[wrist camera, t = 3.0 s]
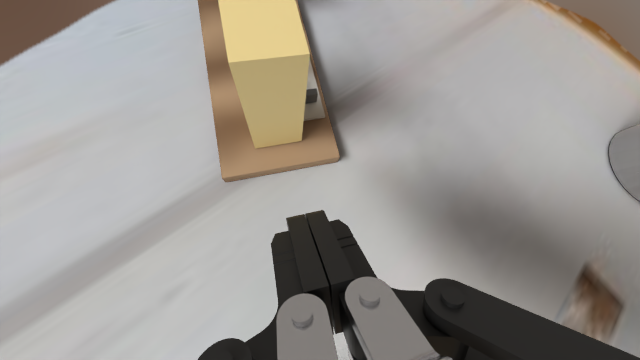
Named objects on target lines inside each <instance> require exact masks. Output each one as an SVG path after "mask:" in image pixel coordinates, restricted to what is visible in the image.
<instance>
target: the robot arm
mask: <svg viewBox="0 0 640 360" xmlns="http://www.w3.org/2000/svg"><path fill="white" fill-rule="evenodd" d="M609 158H610V163H611V166H612V168H613V171H614V173H615V175H616V177H617V178H618V180H619V181H620V183H621V184H622V185H623V187H624V188H625V189H626V190H627V191H628V192H629V193H630V194H631V195H632V196H633V197H635V198H636V199H637V200H639V201H640V124H638V125H635V126H633V127H630V128H628V129H625V130H623V131H620V132H619V133H617V134H616V135H615V136H614V137H613V139H612V140H611V143H610V146H609ZM286 220H287V226H288V231H286V232H281V233H277V234H275V236H274V238H273V241H272V243H271V248H272V255H273V264H274V272H275V280H276V288H277V296H278V309H277V313H276V315H275V317H274V319H273V320H272V322H271V323H270V324H269V326H268V327H266V328H265V329H264V330H263V331H262V332H260V333H259V334H257V335H256V336H254V337H253V338H251V339H249V340H248V341H246V342H243V341H241V340H239V339H235V338H229V339H224V340H221V341H218V342H217V343H215V344H213V345H212V346H210V347H209V348H208V349H207V350H206V351H204V352H203V354H202V355H201V356H200V357H199V358H198V360H338V356H337V352H336V347H335V343H334V338H333V335H334V333H333V327H334V330H335V334H337V333H341V332H343V333H344V336H345V339H346V341H347V344H348V355H349V359H350V360H640V358H638V357H636V356H634V355H631V354H629V353H627V352H624V351H622V350H619V349H617V348H615V347H612V346H610V345H608V344H605V343H603V342H600V341H598V340H596V339H593V338H591V337H589V336H586V335H584V334H581V333H579V332H577V331H574V330H572V329H570V328H567V327H565V326H562V325H560V324H558V323H555V322H553V321H551V320H548V319H546V318H543V317H541V316H539V315H536V314H534V313H531V312H529V311H527V310H524V309H522V308H520V307H517V306H515V305H512V304H510V303H508V302H505V301H503V300H501V299H498V298H496V297H493V296H491V295H489V294H486V293H484V292H482V291H479V290H477V289H474V288H472V287H470V286H467V285H465V284H463V283H460V282H458V281H455V280H451V279H445V278H444V279H436V280H433V281H431V282H430V283H429V284H428V285H427V286H426V288H425V291H406V290H398V289H394V288H391V287H389V285H387V284H386V283H385V282H384V281H382V280H380V279H378V278H377V277H376V275H375V274H374V272H373V270H372V268H371V266H370V265H369V263H368V261H367V259H366V257H365V256H364V254H363V252H362V250H361V249H360V247H359V245H358V244H357V241H356V240H355V238H354V237H353V234H352V233H351V231H350V229H349V227H348V226H347V225H346V224H344V223H343V222H341V221H340V220H339V219H338V220H334V221H330V222H329V221H328V219H327V217H326V214H325V212H324V211H323V210H321V211H316V212H311V213H307V214H305V215H304V214H303V215H298V216H293V217H289V218H286Z"/></svg>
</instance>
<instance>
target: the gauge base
mask: <svg viewBox="0 0 640 360" xmlns="http://www.w3.org/2000/svg"><path fill="white" fill-rule="evenodd" d="M295 1H296V4H297V8H298V12H299V16H300V19H301V23H302V27H303V30H304V34H305V38H306V41H307V45H308V49H309V53H310V58H309V68H308V79H307V89H315V88H316V89H317V92H318V97H317V102H314V103H307V104H305V111H304V121H303V132H302V141H299V142H293V143H287V144H281V145H274V146H268V147H262V148H256V149H255V147H254V143H253V140H252V137H251V134H250V131H249V127H248V124H247V121H246V118H245V115H244V111H243V108H242V105H241V102H240V98H239V95H238V92H237V89H236V86H235V82H234V79H233V76H232V73H231V70H230V66H229V63H228V58H227V52H226V45H225V39H224V33H223V27H222V21H221V15H220V9H219V3H218V0H198V5H199V13H200V20H201V27H202V35H203V42H204V49H205V57H206V64H207V71H208V79H209V86H210V93H211V101H212V108H213V115H214V123H215V130H216V137H217V145H218V152H219V159H220V167H221V174H222V179H223V180H224V181H225V182H231V181H236V180H242V179H247V178H253V177H258V176H264V175H269V174H274V173H280V172H285V171H291V170H296V169H302V168H307V167H313V166H318V165H323V164H329V163H334V162H338V160H339V158H340V156H339V152H338V148H337V145H336V141H335V137H334V134H333V130H332V126H331V122H330V119H329V115H328V111H327V108H326V104H325V100H324V97H323V93H322V89H321V86H320V82H319V78H318V75H317V71H316V67H315V64H314V60H313V56H312V53H311V49H310V45H309V42H308V38H307V34H306V31H305V27H304V23H303V20H302V16H301V12H300V9H299V5H298V1H297V0H295ZM307 89H306V90H307Z"/></svg>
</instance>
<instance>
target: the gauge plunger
mask: <svg viewBox="0 0 640 360" xmlns="http://www.w3.org/2000/svg"><path fill="white" fill-rule="evenodd" d="M218 3H219V9H220V15H221V21H222V27H223V33H224V39H225V45H226V52H227V58H228V63H229V66H230V70H231V73H232V76H233V79H234V82H235V86H236V89H237V92H238V95H239V98H240V102H241V105H242V108H243V111H244V115H245V118H246V121H247V124H248V127H249V131H250V134H251V137H252V140H253V143H254V147H255V149H256V148H262V147H268V146H274V145H281V144H287V143H293V142H299V141H302V132H303V121H304V111H305V104H307V103H314V102H317V97H318V92H317V89H316V88H315V89H307V79H308V68H309V58H310V53H309V49H308V45H307V41H306V38H305V34H304V30H303V27H302V23H301V19H300V16H299V12H298V8H297V4H296V1H295V0H218ZM306 89H307V90H306Z"/></svg>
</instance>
